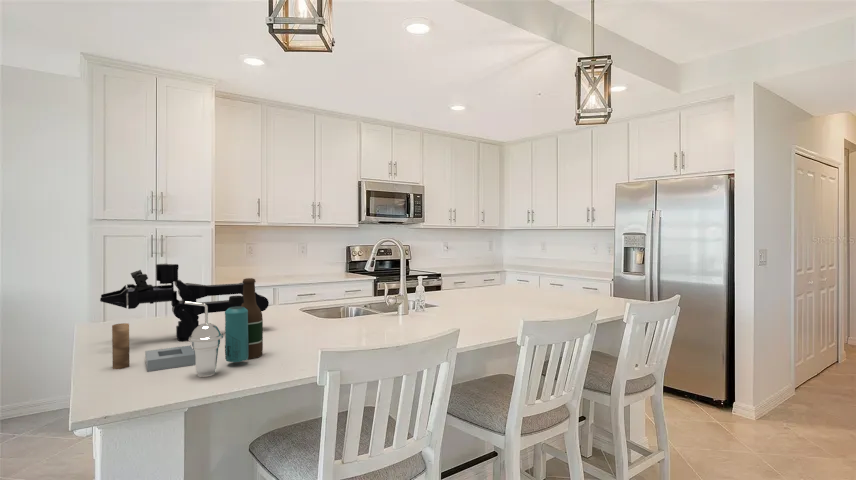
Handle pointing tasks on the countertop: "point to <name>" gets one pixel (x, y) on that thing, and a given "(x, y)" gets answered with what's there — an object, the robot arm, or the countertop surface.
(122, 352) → the peg
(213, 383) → the countertop surface
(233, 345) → the beverage bottle
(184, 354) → the socket
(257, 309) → the beer bottle
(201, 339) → the cup with straw
